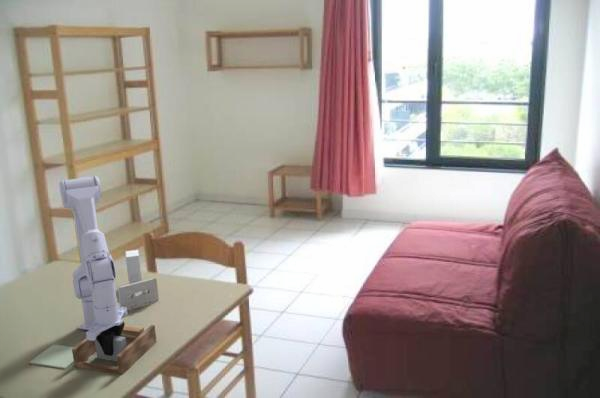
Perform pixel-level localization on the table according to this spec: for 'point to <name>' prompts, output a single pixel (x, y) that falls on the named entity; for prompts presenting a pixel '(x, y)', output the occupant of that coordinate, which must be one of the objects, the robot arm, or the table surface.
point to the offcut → (131, 333)
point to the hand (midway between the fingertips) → (111, 352)
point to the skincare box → (133, 266)
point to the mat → (55, 357)
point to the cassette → (138, 299)
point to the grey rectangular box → (118, 346)
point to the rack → (123, 358)
